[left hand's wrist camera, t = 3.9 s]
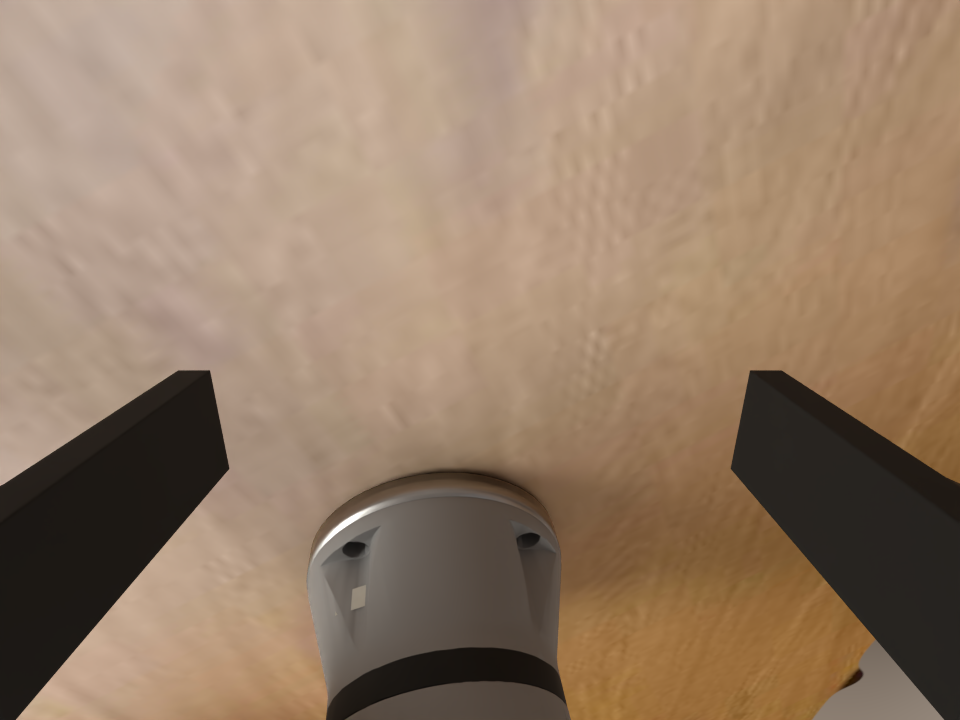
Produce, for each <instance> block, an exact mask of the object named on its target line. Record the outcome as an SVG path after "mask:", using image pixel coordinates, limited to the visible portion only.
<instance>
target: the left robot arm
mask: <svg viewBox="0 0 960 720" xmlns="http://www.w3.org/2000/svg"><path fill="white" fill-rule="evenodd" d="M228 470H229V465H228V460H227V455H226V450H225V445H224V440H223V434H222V429H221V424H220V419H219V414H218V409H217V404H216V399H215V394H214V389H213V384H212V379H211V374H210V371H177V372H175V373H174V374H172V375H171V376H169V377H168V378H166V379H165V380H163V381H162V382H160V383H158V384H157V385H155V386H154V387H152V388H151V389H149V390H148V391H146V392H145V393H143V394H142V395H140V396H139V397H137V398H135V399H134V400H132V401H131V402H129V403H128V404H126V405H125V406H123V407H122V408H120V409H119V410H117V411H116V412H114V413H112V414H111V415H109V416H108V417H106V418H105V419H103V420H102V421H100V422H99V423H97V424H96V425H94V426H92V427H91V428H89V429H88V430H86V431H85V432H83V433H82V434H80V435H79V436H77V437H76V438H74V439H73V440H71V441H69V442H68V443H66V444H65V445H63V446H62V447H60V448H59V449H57V450H56V451H54V452H53V453H51V454H50V455H48V456H46V457H45V458H43V459H42V460H40V461H39V462H37V463H36V464H34V465H33V466H31V467H30V468H28V469H27V470H25V471H23V472H22V473H20V474H19V475H17V476H16V477H14V478H13V479H11V480H10V481H8V482H7V483H5V484H3V485H1V486H0V720H16V719H17V718H18V716H19V715H20V714H21V713H22V712H23V710H24V709H25V708H26V707H27V706H28V705H29V703H30V702H31V701H32V700H33V699H34V698H35V696H36V695H37V694H38V693H39V692H40V691H41V689H42V688H43V687H44V686H45V685H46V683H47V682H48V681H49V680H50V679H51V678H52V676H53V675H54V674H55V673H56V672H57V671H58V669H59V668H60V667H61V666H62V665H63V663H64V662H65V661H66V660H67V659H68V658H69V656H70V655H71V654H72V653H73V652H74V651H75V649H76V648H77V647H78V646H79V645H80V643H81V642H82V641H83V640H84V639H85V638H86V636H87V635H88V634H89V633H90V632H91V631H92V629H93V628H94V627H95V626H96V625H97V624H98V622H99V621H100V620H101V619H102V618H103V616H104V615H105V614H106V613H107V612H108V611H109V609H110V608H111V607H112V606H113V605H114V604H115V602H116V601H117V600H118V599H119V598H120V596H121V595H122V594H123V593H124V592H125V591H126V589H127V588H128V587H129V586H130V585H131V584H132V582H133V581H134V580H135V579H136V578H137V577H138V575H139V574H140V573H141V572H142V571H143V569H144V568H145V567H146V566H147V565H148V564H149V562H150V561H151V560H152V559H153V558H154V557H155V555H156V554H157V553H158V552H159V551H160V549H161V548H162V547H163V546H164V545H165V544H166V542H167V541H168V540H169V539H170V538H171V537H172V535H173V534H174V533H175V532H176V531H177V529H178V528H179V527H180V526H181V525H182V524H183V522H184V521H185V520H186V519H187V518H188V517H189V515H190V514H191V513H192V512H193V511H194V510H195V508H196V507H197V506H198V505H199V504H200V502H201V501H202V500H203V499H204V498H205V497H206V495H207V494H208V493H209V492H210V491H211V490H212V488H213V487H214V486H215V485H216V484H217V482H218V481H219V480H220V479H221V478H222V477H223V475H224V474H225V473H226V472H227V471H228ZM731 470H732V471H733V472H734V473H735V474H736V475H737V477H738V478H739V479H740V480H741V481H742V482H743V484H744V485H745V486H746V487H747V488H748V490H749V491H750V492H751V493H752V494H753V495H754V497H755V498H756V499H757V500H758V501H759V502H760V504H761V505H762V506H763V507H764V508H765V510H766V511H767V512H768V513H769V514H770V515H771V517H772V518H773V519H774V520H775V521H776V522H777V524H778V525H779V526H780V527H781V528H782V529H783V531H784V532H785V533H786V534H787V535H788V537H789V538H790V539H791V540H792V541H793V542H794V544H795V545H796V546H797V547H798V548H799V549H800V551H801V552H802V553H803V554H804V555H805V557H806V558H807V559H808V560H809V561H810V562H811V564H812V565H813V566H814V567H815V568H816V569H817V571H818V572H819V573H820V574H821V575H822V577H823V578H824V579H825V580H826V581H827V582H828V584H829V585H830V586H831V587H832V588H833V589H834V591H835V592H836V593H837V594H838V595H839V596H840V598H841V599H842V600H843V601H844V602H845V604H846V605H847V606H848V607H849V608H850V609H851V611H852V612H853V613H854V614H855V615H856V616H857V618H858V619H859V620H860V621H861V622H862V624H863V625H864V626H865V627H866V628H867V629H868V631H869V632H870V633H871V634H872V635H873V636H874V638H875V639H876V640H877V641H878V642H879V643H880V645H881V646H882V647H883V648H884V649H885V651H886V652H887V653H888V654H889V655H890V656H891V658H892V659H893V660H894V661H895V662H896V663H897V665H898V666H899V667H900V668H901V669H902V671H903V672H904V673H905V674H906V675H907V676H908V678H909V679H910V680H911V681H912V682H913V683H914V685H915V686H916V687H917V688H918V689H919V690H920V692H921V693H922V694H923V695H924V696H925V697H926V699H927V700H928V701H929V702H930V703H931V705H932V706H933V707H934V708H935V709H936V710H937V712H938V713H939V714H940V715H941V716H942V718H943V719H944V720H960V484H959V483H957V482H955V481H953V480H950V479H948V478H946V477H944V476H943V475H941V474H940V473H938V472H937V471H935V470H933V469H932V468H930V467H929V466H927V465H926V464H924V463H923V462H921V461H920V460H918V459H917V458H915V457H914V456H912V455H910V454H909V453H907V452H906V451H904V450H903V449H901V448H900V447H898V446H897V445H895V444H894V443H892V442H891V441H889V440H887V439H886V438H884V437H883V436H881V435H880V434H878V433H877V432H875V431H874V430H872V429H871V428H869V427H868V426H866V425H864V424H863V423H861V422H860V421H858V420H857V419H855V418H854V417H852V416H851V415H849V414H848V413H846V412H844V411H843V410H841V409H840V408H838V407H837V406H835V405H834V404H832V403H831V402H829V401H828V400H826V399H825V398H823V397H821V396H820V395H818V394H817V393H815V392H814V391H812V390H811V389H809V388H808V387H806V386H805V385H803V384H802V383H800V382H798V381H797V380H795V379H794V378H792V377H791V376H789V375H788V374H786V373H785V372H783V371H750V374H749V379H748V384H747V389H746V394H745V399H744V404H743V409H742V414H741V419H740V424H739V429H738V434H737V440H736V445H735V450H734V455H733V460H732V465H731ZM560 579H561V552H560V547H559V544H558V540H557V537H556V534H555V530H554V527H553V524H552V521H551V518H550V516H549V514H548V513H547V511H546V510H545V508H544V507H543V506H542V505H541V503H540V502H539V501H538V500H536V499H535V498H534V497H533V496H532V495H530V494H529V493H527V492H526V491H524V490H523V489H521V488H519V487H517V486H515V485H513V484H510V483H508V482H505V481H502V480H499V479H496V478H492V477H488V476H483V475H477V474H469V473H430V474H422V475H415V476H410V477H405V478H401V479H398V480H394V481H390V482H387V483H384V484H382V485H379V486H376V487H374V488H372V489H369V490H367V491H365V492H363V493H361V494H359V495H357V496H356V497H354V498H352V499H351V500H349V501H348V502H346V503H345V504H343V505H342V506H341V507H339V508H338V509H337V510H336V511H335V512H334V513H333V514H332V515H331V516H329V517H328V519H327V520H326V521H325V522H324V523H323V525H322V526H321V528H320V529H319V531H318V532H317V534H316V536H315V539H314V541H313V544H312V548H311V554H310V560H309V567H308V573H307V590H308V598H309V603H310V608H311V613H312V618H313V623H314V628H315V632H316V637H317V642H318V647H319V652H320V657H321V662H322V667H323V672H324V677H325V681H326V686H327V691H328V703H327V716H326V720H571V719H570V715H569V711H568V708H567V704H566V700H565V696H564V691H563V687H562V683H561V679H560V675H559V670H558V665H557V644H558V622H559V601H560Z"/></svg>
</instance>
